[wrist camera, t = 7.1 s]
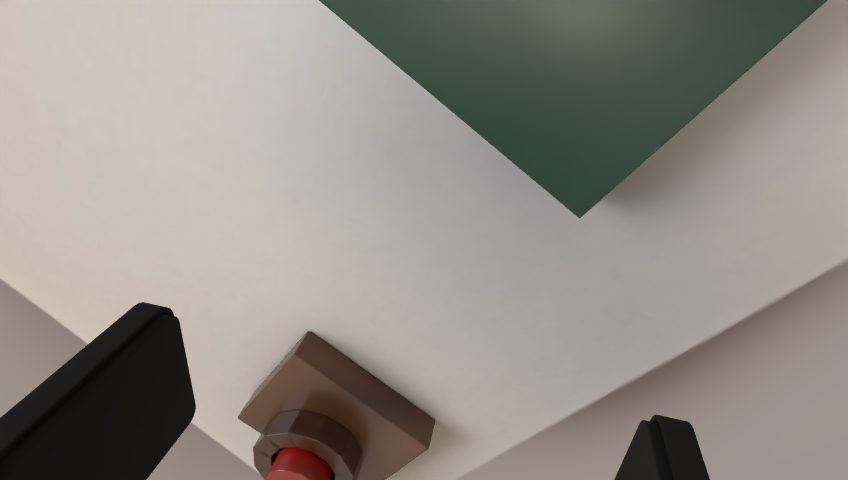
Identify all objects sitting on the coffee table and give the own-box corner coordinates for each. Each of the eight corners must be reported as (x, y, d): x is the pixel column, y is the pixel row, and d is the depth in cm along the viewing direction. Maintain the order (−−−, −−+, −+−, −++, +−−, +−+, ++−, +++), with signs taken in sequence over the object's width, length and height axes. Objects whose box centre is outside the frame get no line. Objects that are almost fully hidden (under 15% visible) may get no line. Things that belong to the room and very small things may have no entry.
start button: (343, 468, 31) (332, 495, 29) (314, 491, 32) (303, 517, 31) (294, 436, 30) (281, 461, 29) (268, 461, 32) (255, 486, 30)
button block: (435, 420, 32) (423, 475, 29) (359, 477, 37) (340, 531, 33) (308, 329, 31) (279, 376, 27) (245, 401, 35) (213, 449, 32)
